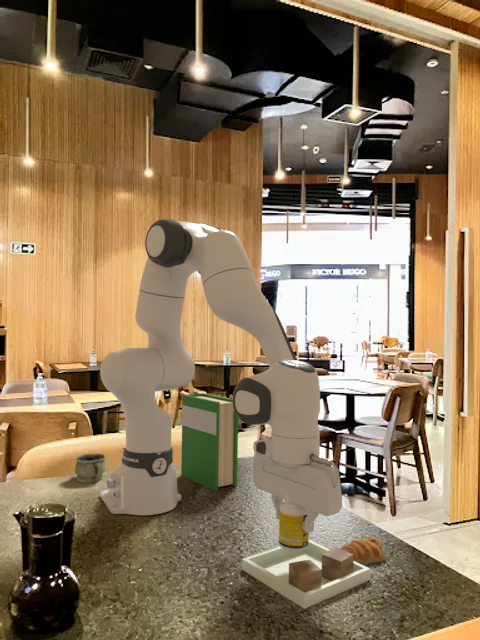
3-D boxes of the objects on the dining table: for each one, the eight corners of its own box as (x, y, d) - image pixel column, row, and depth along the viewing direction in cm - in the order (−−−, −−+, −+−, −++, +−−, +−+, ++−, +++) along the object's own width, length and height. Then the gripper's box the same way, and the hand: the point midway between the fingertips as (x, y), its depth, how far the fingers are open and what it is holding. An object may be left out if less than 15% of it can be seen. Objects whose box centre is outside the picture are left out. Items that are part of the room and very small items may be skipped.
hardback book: (237, 486, 144) (238, 400, 145) (215, 491, 140) (216, 402, 140) (202, 471, 158) (203, 393, 159) (181, 475, 154) (182, 394, 154)
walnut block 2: (321, 577, 91) (321, 554, 91) (333, 569, 94) (334, 547, 94) (341, 585, 88) (341, 561, 88) (353, 576, 91) (353, 554, 91)
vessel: (114, 480, 148) (114, 458, 148) (84, 486, 142) (85, 463, 142) (95, 471, 157) (95, 450, 157) (66, 476, 151) (67, 455, 151)
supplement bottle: (307, 554, 91) (308, 498, 91) (276, 551, 92) (277, 496, 92) (309, 542, 96) (310, 489, 97) (280, 539, 98) (281, 487, 98)
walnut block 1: (288, 586, 87) (288, 563, 87) (309, 582, 89) (309, 559, 89) (300, 598, 84) (300, 573, 84) (321, 594, 85) (321, 569, 85)
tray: (242, 572, 93) (242, 558, 94) (305, 550, 103) (305, 538, 103) (304, 612, 81) (304, 596, 81) (370, 583, 90) (370, 568, 90)
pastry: (348, 573, 94) (349, 552, 94) (327, 558, 100) (327, 538, 101) (389, 564, 98) (389, 544, 98) (366, 550, 104) (366, 531, 104)
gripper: (350, 458, 88) (349, 540, 88) (272, 437, 105) (271, 506, 104) (324, 464, 84) (323, 549, 84) (247, 441, 101) (246, 512, 101)
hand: (294, 525), depth 94 cm, fingers closed on supplement bottle, 5 cm apart
